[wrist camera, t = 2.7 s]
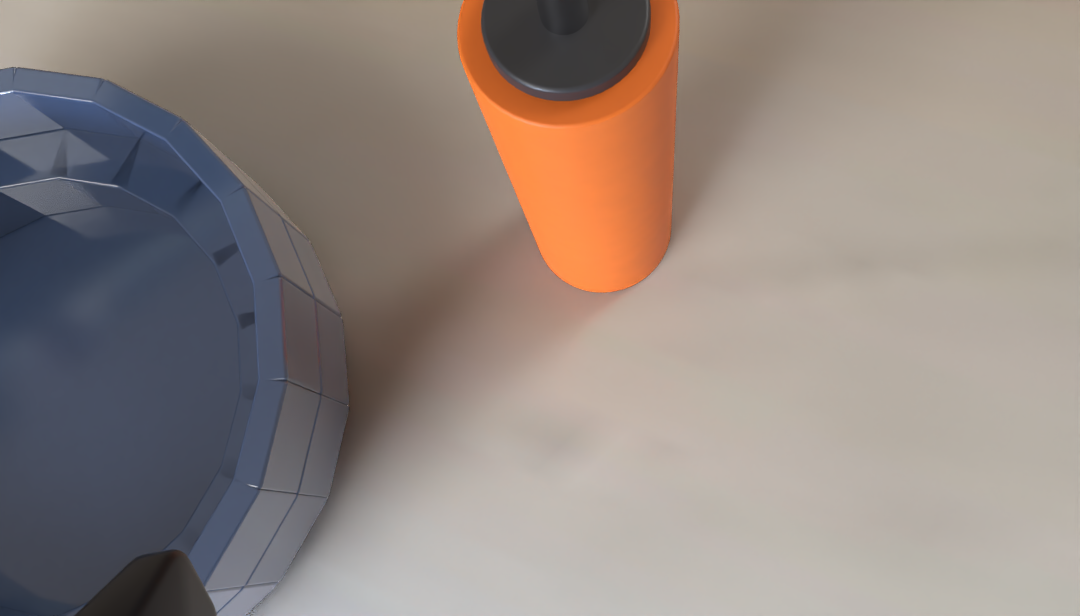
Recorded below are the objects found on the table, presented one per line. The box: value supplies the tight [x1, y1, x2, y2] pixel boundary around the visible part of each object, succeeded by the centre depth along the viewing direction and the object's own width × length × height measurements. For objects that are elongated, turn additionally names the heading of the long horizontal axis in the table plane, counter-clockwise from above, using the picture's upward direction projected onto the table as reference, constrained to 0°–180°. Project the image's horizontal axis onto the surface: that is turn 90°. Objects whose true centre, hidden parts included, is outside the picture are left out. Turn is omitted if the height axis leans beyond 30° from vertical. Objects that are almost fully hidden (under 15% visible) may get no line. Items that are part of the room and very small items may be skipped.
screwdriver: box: [457, 0, 679, 292], centre depth 17 cm, size 3×3×13 cm
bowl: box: [0, 67, 349, 616], centre depth 21 cm, size 13×13×4 cm
